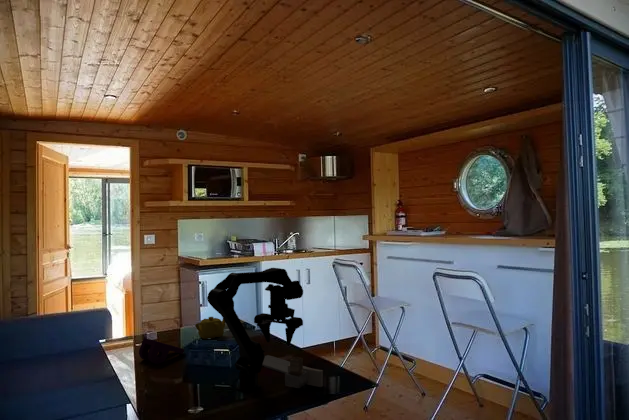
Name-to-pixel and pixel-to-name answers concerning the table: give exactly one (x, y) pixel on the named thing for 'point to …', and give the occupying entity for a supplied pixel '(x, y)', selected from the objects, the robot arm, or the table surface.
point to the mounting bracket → (156, 351)
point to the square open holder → (296, 379)
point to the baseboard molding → (276, 364)
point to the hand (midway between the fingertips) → (278, 343)
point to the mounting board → (313, 376)
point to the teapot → (210, 328)
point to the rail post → (296, 366)
